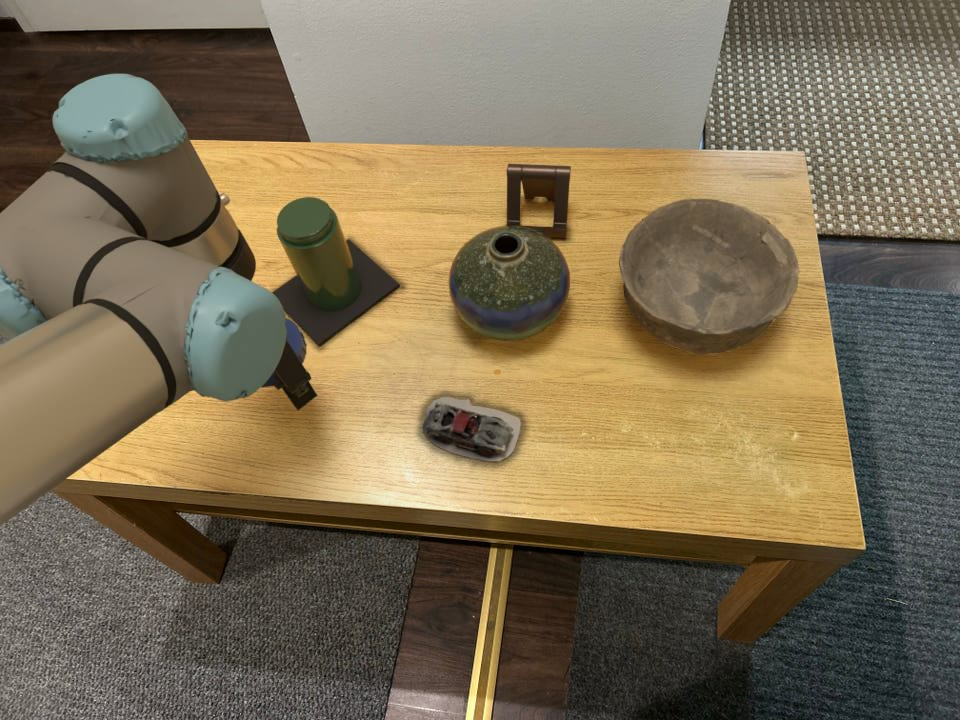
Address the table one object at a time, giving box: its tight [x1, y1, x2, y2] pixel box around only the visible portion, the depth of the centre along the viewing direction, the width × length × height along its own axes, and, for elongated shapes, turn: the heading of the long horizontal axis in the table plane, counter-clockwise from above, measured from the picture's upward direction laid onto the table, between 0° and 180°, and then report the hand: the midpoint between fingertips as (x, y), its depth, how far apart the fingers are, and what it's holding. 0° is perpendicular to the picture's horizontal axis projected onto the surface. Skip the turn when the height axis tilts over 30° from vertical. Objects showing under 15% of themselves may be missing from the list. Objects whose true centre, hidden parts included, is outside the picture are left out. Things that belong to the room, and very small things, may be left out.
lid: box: [261, 317, 308, 389], centre depth 74 cm, size 8×8×2 cm
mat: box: [271, 238, 401, 347], centre depth 96 cm, size 14×12×1 cm
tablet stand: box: [504, 163, 572, 239], centre depth 97 cm, size 9×8×8 cm
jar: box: [276, 196, 361, 311], centre depth 90 cm, size 8×8×14 cm
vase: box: [448, 225, 571, 342], centre depth 87 cm, size 15×15×13 cm
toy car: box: [421, 396, 522, 463], centre depth 82 cm, size 8×12×3 cm
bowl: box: [618, 197, 800, 356], centre depth 86 cm, size 21×21×10 cm
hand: (284, 377), depth 79 cm, fingers closed on lid, 8 cm apart
